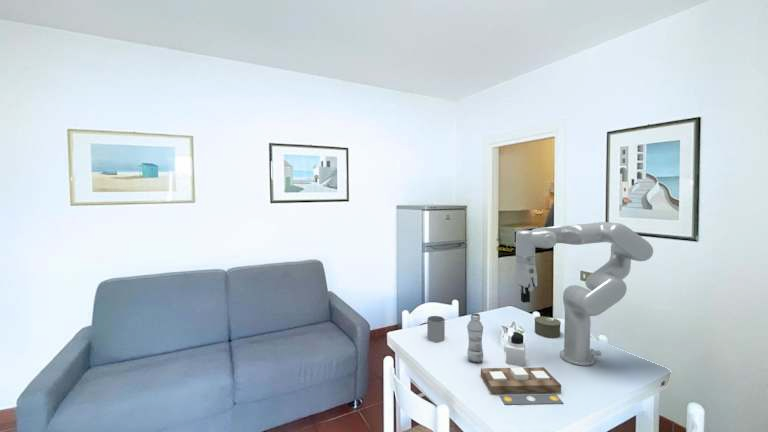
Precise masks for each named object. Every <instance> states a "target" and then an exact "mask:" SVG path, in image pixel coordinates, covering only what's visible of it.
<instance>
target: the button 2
mask: <svg viewBox="0 0 768 432" xmlns="http://www.w3.org/2000/svg"><path fill="white" fill-rule="evenodd" d="M531 374H532V375H533V377H534V378H535V379H536V380H550V377H549V376H548V375H547V374H546V373H545V372H544V371H531Z"/></svg>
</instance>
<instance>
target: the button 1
mask: <svg viewBox="0 0 768 432" xmlns="http://www.w3.org/2000/svg"><path fill="white" fill-rule="evenodd" d="M489 375H490V377H491V378H492V380H493V381H507V378H506V377H505V375H504V374H503V373H502V371H493V372H489Z"/></svg>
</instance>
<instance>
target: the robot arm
mask: <svg viewBox="0 0 768 432" xmlns="http://www.w3.org/2000/svg"><path fill="white" fill-rule="evenodd" d="M600 243H609V244H610V257H609V260H608V261H607V262H606V263H605V264H603V265H602V266H600V267H599V268H598V269H596V270H595V271H594V272H592V273H591V274H589V275H588V276H587V277H586V279H585V286H586V288H585V287H583V286H582V285H581V286H580V285H576V284H575V285H573V284H572V285H569V286H567V287H566V288H565V289H564V290H563V293H562V301H563V307H564V333H563V334H564V336H563V344H564V345H563V349H562V350H560V352H559V356H560V358H561V359H562V360H564V361H566V362H567V363H570V364H573V365H577V366H585V367H587V366H592V365H593V364H594V363H595V359H594V357H595V356H597V357H598V356H599V357H600V356H602V352H601V351H600V350H595V349H594V348H591V326H592V325H591V323H592V322H591V321H592V320H591V317H596V316H599V315H601V314H602V313H604V312H606V311H607V310H608V309H610V308H611V307H613V306H615V305H616V304H617V303H619V302H620V301H621V300H622V299H623V298H624V297H625V295H626V293H627V290H628V288H627V284H626V283H625V281H624V279H625V278H627V276H628V275H629V274H630V272H631V267H632V266H631V265H632V261H636V262H646V261H649V260H650V259H651V258H652V257H653V254H654V248H653V246H652V244H651V243H650V242H649V241H648V240H647V239H645V238H643V236H640V235H639V234H638V233H637V232H635V231H634V230H632V229H631V228H630V227H628V226H626V225H625V224H622V223H619V222H610V221H609V222H608V221H600V222H590V223H582V224H571V225H570V224H569V225H557V226H546V227H536V228H532V229H531V230H525V229H524V230H523V229H522V230H517V231H516V232H515V265H516V266H515V282H516V283H517V285H518V286H519V290H520V301H521V303H524V304H525V303H530V302H531V292H534V288H537V287H538V274H537V273H538V272H537V266H536V248H541V249H550V248H551V249H552V248H553V247H555V246H556V245H557V244H565V245H573V246H574V245H575V246H576V245H577V246H578V245H579V246H580V245H589V244H590V245H591V244H600Z"/></svg>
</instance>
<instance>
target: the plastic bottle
mask: <svg viewBox="0 0 768 432" xmlns="http://www.w3.org/2000/svg"><path fill="white" fill-rule="evenodd" d="M480 315H481V314H480V313H477V312H473V313H471V314H470V320H469V322H468V323H467V325H466V326H467V327H466V328H467V336H468V347H467V351H466V354H467V358H468V359H469V361H470V362H474V363H481V362H482V361H483V359H484V351H483V340H482V339H483V333H484V326H483V324H482V321H480V320H481V316H480Z"/></svg>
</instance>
